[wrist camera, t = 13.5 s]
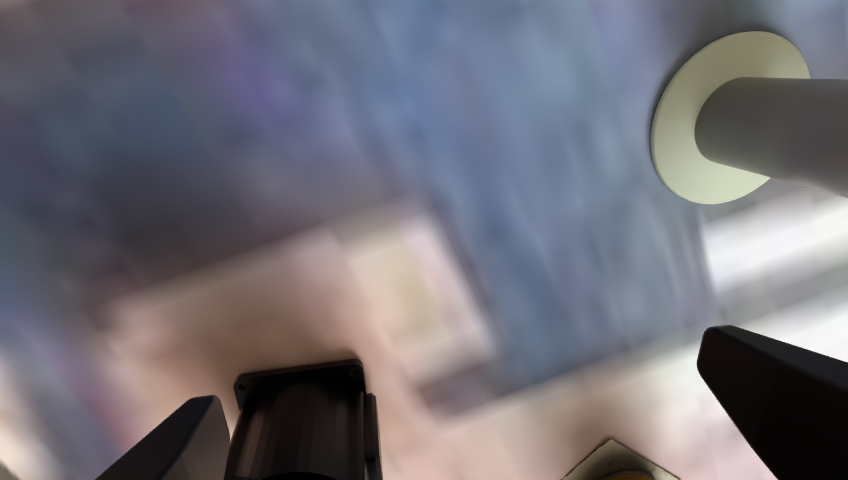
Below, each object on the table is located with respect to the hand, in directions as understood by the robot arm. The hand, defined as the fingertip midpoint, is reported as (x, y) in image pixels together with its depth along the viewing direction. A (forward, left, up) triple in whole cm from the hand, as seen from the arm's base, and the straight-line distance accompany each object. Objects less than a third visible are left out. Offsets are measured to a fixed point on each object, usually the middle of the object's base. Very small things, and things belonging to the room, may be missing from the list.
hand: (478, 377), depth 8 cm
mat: (+16, +2, -13) cm, 21 cm away
